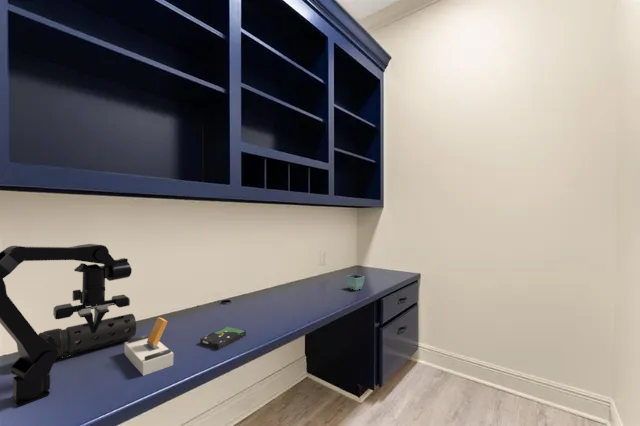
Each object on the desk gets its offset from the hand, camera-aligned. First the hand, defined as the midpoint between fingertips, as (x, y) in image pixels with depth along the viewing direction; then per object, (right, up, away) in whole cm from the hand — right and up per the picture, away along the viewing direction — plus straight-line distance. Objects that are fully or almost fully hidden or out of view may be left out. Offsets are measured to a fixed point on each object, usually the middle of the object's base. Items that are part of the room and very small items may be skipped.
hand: (93, 332), depth 95 cm
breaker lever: (+14, -7, +8) cm, 18 cm away
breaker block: (+13, -12, +8) cm, 19 cm away
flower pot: (+96, -14, +106) cm, 144 cm away
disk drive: (+34, -13, +24) cm, 44 cm away
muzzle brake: (-12, -12, +13) cm, 22 cm away
